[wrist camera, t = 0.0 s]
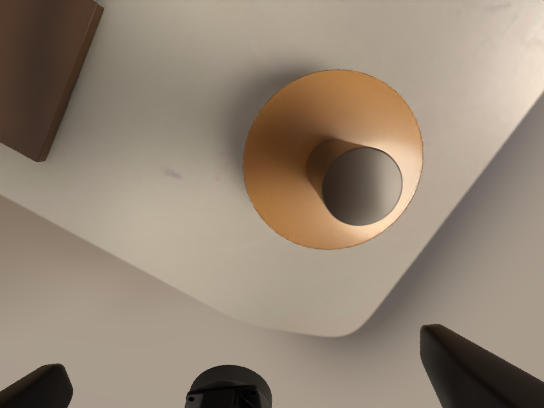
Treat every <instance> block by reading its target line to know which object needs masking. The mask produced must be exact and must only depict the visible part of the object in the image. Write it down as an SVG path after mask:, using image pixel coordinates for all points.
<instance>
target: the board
mask: <svg viewBox="0 0 544 408" xmlns="http://www.w3.org/2000/svg"><path fill="white" fill-rule="evenodd" d="M103 10H104V8H103V7H102V6H100V5H99V4H97V3H96V2H94V1H93V0H0V142H1V143H2V144H4V145H6V146H8V147H10V148H12V149H14V150H15V151H17V152H19V153H21V154H23V155H25V156H27V157H28V158H30V159H32V160H34V161H36V162H42V161H45V160H46V157H47V154H48V152H49V149H50V147H51V144H52V142H53V139H54V136H55V134H56V131H57V129H58V126H59V124H60V121H61V118H62V116H63V113H64V111H65V108H66V106H67V103H68V100H69V98H70V95H71V93H72V90H73V87H74V85H75V82H76V80H77V77H78V75H79V72H80V69H81V67H82V64H83V62H84V59H85V57H86V54H87V51H88V49H89V46H90V44H91V41H92V39H93V36H94V33H95V31H96V28H97V26H98V23H99V20H100V18H101V15H102V13H103Z"/></svg>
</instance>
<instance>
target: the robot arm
mask: <svg viewBox="0 0 544 408" xmlns="http://www.w3.org/2000/svg"><path fill="white" fill-rule="evenodd" d="M420 356H421V360H422V363H423V366H424V368H425V370H426V372H427V375H428V377H429V379H430V381H431V383H432V385H433V388H434V390H435V392H436V394H437V396H438V398H439V401H440V403H441V405H442V407H443V408H544V382H543V381H541V380H539V379H537V378H535V377H534V376H532V375H530V374H528V373H527V372H525V371H523V370H521V369H519V368H518V367H516V366H514V365H512V364H511V363H509V362H507V361H505V360H503V359H502V358H499V357H498V356H496V355H494V354H493V353H491V352H489V351H487V350H485V349H483V348H482V347H480V346H478V345H476V344H475V343H473V342H471V341H469V340H468V339H465V338H464V337H462V336H460V335H459V334H457V333H455V332H453V331H451V330H450V329H448V328H446V327H444V326H442V325H440V324H431V325H423V326H422V327H421V330H420ZM72 395H73V388H72V385H71V382H70V380H69V377H68V375H67V372H66V370H65V367H64V366H63V365H62V364H49V365H44V366H41V367H40V368H38V369H36V370H35V371H33V372H31V373H30V374H28V375H27V376H25V377H23V378H22V379H20V380H18V381H17V382H15V383H13V384H12V385H10V386H9V387H7V388H5V389H4V390H2V391H0V408H67V407H68V405H69V403H70V401H71V399H72ZM186 401H187V405H188V408H262V405H261V399H260V394H259V388H258V387H257V386H256V385H243V386H233V387H223V388H213V389H203V390H193V391H189V392H188V393H187V396H186Z"/></svg>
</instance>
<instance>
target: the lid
mask: <svg viewBox="0 0 544 408" xmlns="http://www.w3.org/2000/svg"><path fill="white" fill-rule="evenodd" d="M422 167H423V142H422V137H421V132H420V129H419V126H418V123H417V121H416V119H415V117H414V115H413V113H412V111H411V109H410V108H409V106H408V105H407V103H406V102H405V101H404V99H403V98H402V97H401V96H400V95H399V94H398V93H397V92H396V91H395V90H393V89H392V88H391V87H390V86H388V85H387V84H386V83H384V82H382V81H380V80H379V79H377V78H375V77H372V76H370V75H367V74H364V73H361V72H356V71H352V70H339V69H337V70H325V71H320V72H315V73H311V74H309V75H306V76H303V77H301V78H299V79H297V80H295V81H293V82H291V83H289V84H288V85H286V86H285V87H283V88H282V89H281V90H279V91H278V92H277V93H276V94H275V95H274V96H273V97H272V98H270V99H269V100H268V102H267V103H266V104H265V105H264V107H263V108H262V109H261V110H260V112H259V114H258V115H257V117H256V118H255V120H254V122H253V124H252V126H251V129H250V131H249V133H248V137H247V140H246V143H245V149H244V155H243V173H244V181H245V185H246V189H247V192H248V195H249V197H250V200H251V202H252V204H253V206H254V208H255V210H256V211H257V212H258V214H259V215H260V217H261V218H262V219H263V220H264V221H265V223H266V224H267V225H268V226H269V227H270V228H272V229H273V230H274V231H275V232H276V233H278V234H279V235H281V236H282V237H284V238H285V239H287V240H289V241H292V242H294V243H296V244H299V245H302V246H305V247H309V248H315V249H325V250H331V249H342V248H348V247H352V246H355V245H358V244H361V243H364V242H366V241H368V240H370V239H372V238H374V237H376V236H377V235H379V234H381V233H382V232H383V231H385V230H386V229H387V228H389V227H390V226H391V225H392V224H393V223H394V222H395V221H396V220H397V219H398V218H399V217H400V216H401V214H402V213H403V212H404V211H405V209H406V208H407V206H408V205H409V203H410V202H411V200H412V198H413V196H414V194H415V192H416V190H417V187H418V184H419V181H420V177H421V172H422Z"/></svg>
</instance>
